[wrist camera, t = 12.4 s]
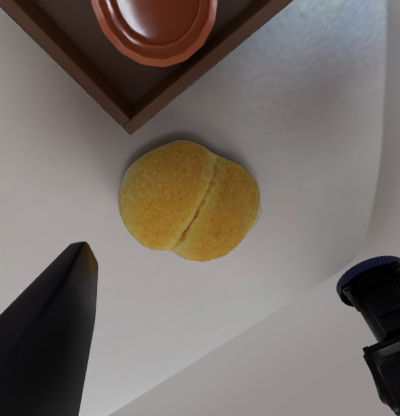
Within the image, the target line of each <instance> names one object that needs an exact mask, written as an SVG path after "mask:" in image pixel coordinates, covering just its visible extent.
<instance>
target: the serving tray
mask: <svg viewBox="0 0 400 416" xmlns="http://www.w3.org/2000/svg"><path fill="white" fill-rule="evenodd" d="M292 1H293V0H218V5H217V12H216V19H215V23H214V25H213V27H212V29H211V31H210V33H209V35H208V37H207V39H206V41H205V42H204V44H203V45H202V47H201V48H199V49H198V50H197V51H196V52H195V53H194V54H192V55H191V56H190V57H189V58H188V59H187V60H185V61H183V62H179V63H176V64H173V65H170V66H167V67H158V66H150V65H142V64H140V63H138V62H136V61H134V60H133V59H131V58H129V57H127V56H126V55H124V54H122V53H121V52H119V50H118V49H117V48H116V47H115V46H114V45H113V43H112V42H111V41H110V40H109V39H108V38H107V36H106V35H105V34H104V33H103V31H102V29H101V27H100V25H99V22H98V20H97V17H96V15H95V12H94V10H93V7H92V5H91V0H0V7H1V8H2V9H3V10H4V11H5V12H6V13H7V14H8V15H9V16H10V17H11V18H12V19H13V20H14V21H15V22H16V23H17V24H18V25H19V26H20V27H21V28H22V29H23V30H24V31H25V32H26V33H27V34H28V35H29V36H30V37H31V38H32V39H33V40H34V41H35V42H36V43H37V44H38V45H39V46H40V47H41V48H43V49H44V50H45V51H46V52H47V53H48V54H49V55H50V56H51V57H52V58H53V59H54V60H55V61H56V62H57V63H58V64H59V65H60V66H61V67H62V68H63V69H64V70H65V71H66V72H67V73H68V74H69V75H70V76H71V77H72V78H73V79H74V80H75V81H76V82H77V83H78V84H79V85H80V86H81V87H82V88H83V89H84V90H85V91H86V92H87V93H88V94H89V95H90V96H91V97H92V98H93V99H94V100H95V101H96V102H97V103H98V104H99V105H100V106H101V107H102V108H103V109H104V110H105V111H107V112H108V113H109V114H110V115H111V116H112V117H113V118H114V119H115V120H116V121H117V122H118V123H119V124H120V125H121V126H122V127H123V128H124V129H125V130H126V131H127V132H128V133H129V134H130V135H131V134H133V133H134V132H135V131H136V130H137V129H139V128H140V127H141V126H142V125H143V124H145V123H146V122H147V121H148V120H149V119H151V118H152V117H153V116H154V115H155V114H157V113H158V112H159V111H160V110H162V109H163V108H164V107H165V106H166V105H168V104H169V103H170V102H171V101H172V100H174V99H175V98H176V97H177V96H178V95H180V94H181V93H182V92H183V91H184V90H186V89H187V88H188V87H189V86H190V85H192V84H193V83H194V82H195V81H196V80H198V79H199V78H200V77H201V76H203V75H204V74H205V73H206V72H207V71H209V70H210V69H211V68H212V67H213V66H215V65H216V64H217V63H218V62H219V61H221V60H222V59H223V58H224V57H225V56H227V55H228V54H229V53H230V52H231V51H233V50H234V49H235V48H236V47H237V46H239V45H240V44H241V43H242V42H244V41H245V40H246V39H247V38H248V37H250V36H251V35H252V34H253V33H254V32H256V31H257V30H258V29H259V28H260V27H262V26H263V25H264V24H265V23H266V22H268V21H269V20H270V19H271V18H272V17H274V16H275V15H276V14H277V13H278V12H280V11H281V10H282V9H283V8H285V7H286V6H287V5H288V4H289V3H291V2H292Z"/></svg>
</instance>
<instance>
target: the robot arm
mask: <svg viewBox="0 0 400 416" xmlns="http://www.w3.org/2000/svg"><path fill="white" fill-rule="evenodd" d="M97 281H98V263H97V260H96V258H95V256H94V254H93V252H92V250H91V248H90V246H89V244H88V243H87V242H84V241H83V242H76V243H72V244H70V245H69V246H68V247H67V248H66V249H65V250H64V251H63V252H62V253H61V254H60V255H59V256H58V257H57V258H56V259H55V260H54V261H53V262H52V263H51V264H50V265H49V266H48V267H47V268H46V269H45V270H44V271H43V272H42V273H41V274H40V275H39V276H38V277H37V278H36V279H35V280H34V281H33V282H32V283H31V284H30V285H29V286H28V287H27V288H26V289H25V290H24V291H23V292H22V293H21V294H20V295H19V296H18V297H17V298H16V299H15V300H14V301H13V303H12V304H11V305H10V306H9V307H8V308H7V309H6V310H5V311H4V312H3V313H2V314H1V315H0V416H78V415H79V410H80V404H81V398H82V392H83V387H84V381H85V375H86V370H87V364H88V358H89V353H90V347H91V341H92V335H93V330H94V323H95V315H96V299H97ZM341 290H342V292H343V293H344V295H345V296H346V297H347V298H348V300H349V301H350V302H351V303H352V305H353V306H354V307H355V308H356V310H357V311H358V312H361V314H362V315H363V317H364V319H365V321H366V322H367V324H368V326H369V328H370V329H371V331H372V333H373V335H374V336H375V338H376V340H377V341H378V343H376V344H374V345H371V346H369V347H368V346H367V347H364V348H363V351H364V353H365V354H364V355H363V357H364V359H365V361H366V363H367V365H368V367H369V369H370V371H371V373H372V376H373V379H374V382H375V385H376V388H377V392H378V395H379V398H380V400H381V401H382V403H384V404H386V405H388V406H389V407H390V408H391V409H392V410H393V411H394V412H395V414H396V415H397V416H400V263H399V262H398V261H394V262H392V263H389V264H387V265H385V266H383V267H381V268H379V269H377V270H374V271H372V272H370V273H368V274H366V275H364V276H362V277H360V278H357V279H355V280H353V281H351V282H349V283H347V284H345V285H343V286H341Z"/></svg>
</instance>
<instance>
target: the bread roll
mask: <svg viewBox="0 0 400 416" xmlns="http://www.w3.org/2000/svg"><path fill="white" fill-rule="evenodd" d="M118 205H119V211H120V215H121V217H122V220H123V222H124V224H125V226H126V228H127V229H128V231H129V232H130V233H131V235H132V236H133V237H134V238H135V239H136V240H137V241H138V242H139V243H141V244H142V245H143V246H145V247H147V248H150V249H154V250H169V251H172V252H174V253H176V254H177V255H179V256H181V257H183V258H186V259H188V260H194V261H200V262H205V261H210V260H213V259H216V258H219V257H222V256H224V255H226V254H228V253H229V252H230V251H232V250H233V249H234V248H235V247H236V246H237V245H238V244H239V243H240V242H241V241H242V239H243V238H244V237H245V236H246V235H247V234H248V233H249V231H250V230H251V228H252V227H253V226H254V225H255V224H256V222H257V220H258V218H259V215H260V213H261V205H260V193H259V188H258V185H257V182H256V181H255V180H254V178H253V177H252V176H251V175H250V174H249V173H248V172H247V171H246V170H245V169H244V168H243V167H242V166H240V165H239V164H238V163H235V162H233V161H230V160H228V159H226V158H223V157H220V156H218V155H216V154H214V153H212V152H210V151H209V150H208V149H206V148H205V147H203V146H201V145H199V144H196V143H194V142H191V141H187V140H178V141H173V142H170V143H167V144H165V145H163V146H160V147H158V148H156V149H154V150H152V151H150V152H148V153H146V154H144V155H143V156H142V157H140V158H139V159H137V160H136V161H135V162H134V163H133V164H132V165H131V166H130V167H129V168H128V169H127V170H126V172H125V174H124V176H123V179H122V182H121V186H120V189H119V195H118Z"/></svg>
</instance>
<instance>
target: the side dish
mask: <svg viewBox="0 0 400 416" xmlns="http://www.w3.org/2000/svg"><path fill="white" fill-rule="evenodd" d="M91 5H92V7H93V10H94V12H95V15H96V17H97V20H98V22H99V25H100V27H101V29H102V31H103V33H104V34H105V35H106V36H107V38H108V39H109V40H110V41H111V42H112V43H113V45H114V46H115V47H116V48H117V49H118V50H119V52H121V53H122V54H124V55H126V56H127V57H129V58H131V59H133V60H134V61H136V62H138V63H140V64H142V65H150V66H158V67H167V66H170V65H173V64H176V63H179V62H183V61H185V60H187V59H188V58H189V57H190V56H191V55H192V54H194V53H195V52H196V51H197V50H198V49H199V48H201V47H202V45H203V44H204V42H205V41H206V39H207V37H208V35H209V33H210V31H211V29H212V27H213V25H214V23H215V19H216V12H217V5H218V0H91Z"/></svg>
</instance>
